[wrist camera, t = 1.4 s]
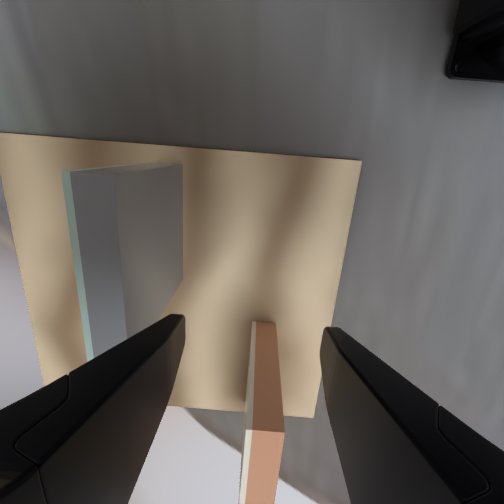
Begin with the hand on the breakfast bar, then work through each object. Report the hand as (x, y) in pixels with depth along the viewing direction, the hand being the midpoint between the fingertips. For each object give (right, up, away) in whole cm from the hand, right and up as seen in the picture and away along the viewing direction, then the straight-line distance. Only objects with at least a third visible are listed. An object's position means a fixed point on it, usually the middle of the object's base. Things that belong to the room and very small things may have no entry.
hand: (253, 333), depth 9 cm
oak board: (-5, -1, +13) cm, 14 cm away
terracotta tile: (+1, -7, +15) cm, 16 cm away
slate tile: (-6, +4, +11) cm, 13 cm away
